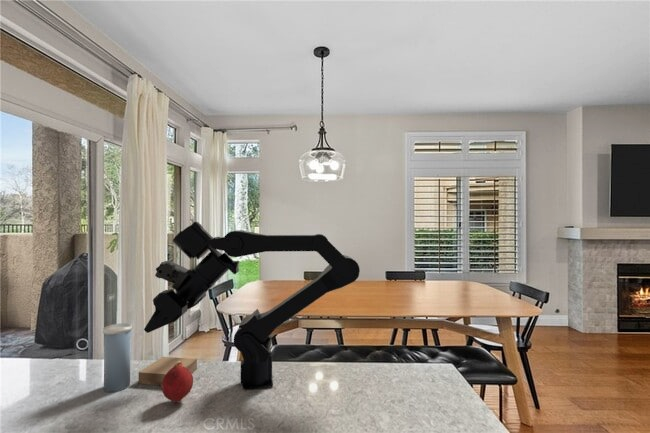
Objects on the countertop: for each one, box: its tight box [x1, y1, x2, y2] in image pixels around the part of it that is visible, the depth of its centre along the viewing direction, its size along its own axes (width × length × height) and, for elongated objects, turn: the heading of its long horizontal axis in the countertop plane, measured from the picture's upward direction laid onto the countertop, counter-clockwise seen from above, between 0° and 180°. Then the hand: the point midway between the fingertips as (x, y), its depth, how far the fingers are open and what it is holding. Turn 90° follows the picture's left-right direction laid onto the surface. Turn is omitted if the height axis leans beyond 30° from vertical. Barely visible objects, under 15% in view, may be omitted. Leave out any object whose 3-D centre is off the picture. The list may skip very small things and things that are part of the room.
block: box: [138, 356, 198, 386], centre depth 81 cm, size 9×9×2 cm
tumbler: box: [102, 322, 133, 393], centre depth 76 cm, size 5×5×13 cm
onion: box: [161, 361, 194, 403], centre depth 70 cm, size 6×6×8 cm
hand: (155, 324), depth 77 cm, fingers open, 9 cm apart
